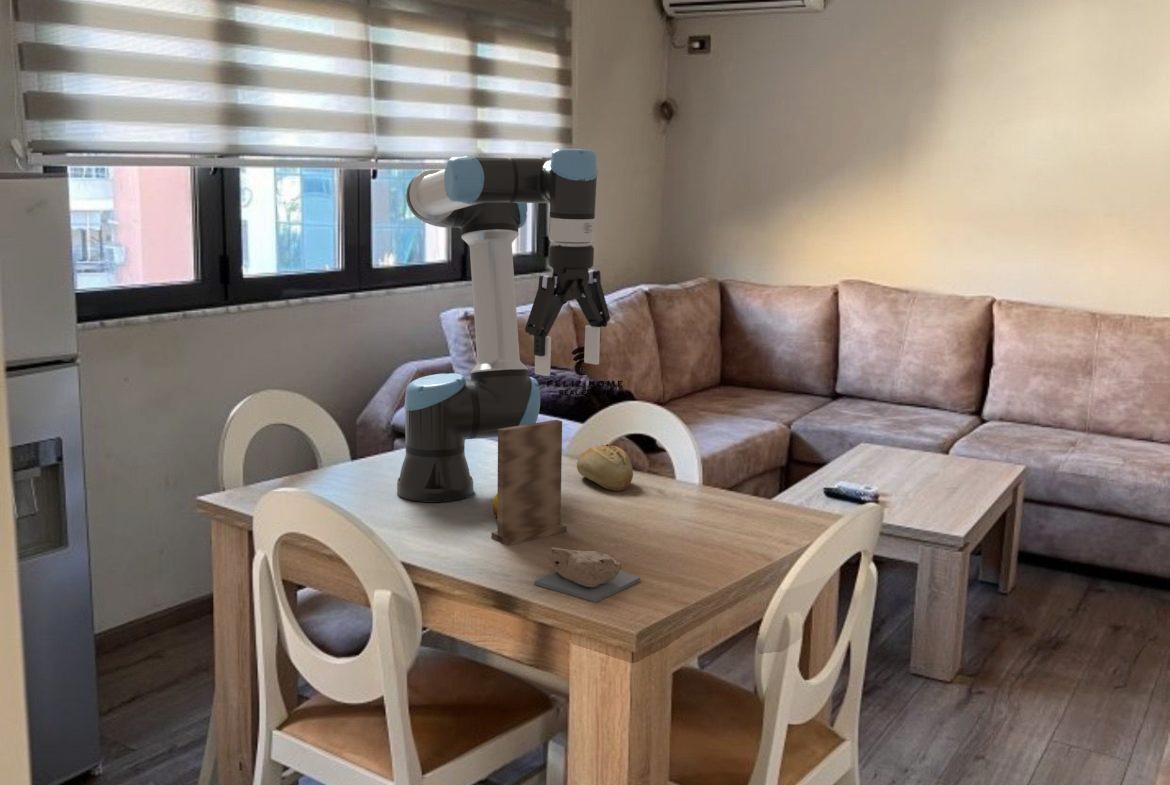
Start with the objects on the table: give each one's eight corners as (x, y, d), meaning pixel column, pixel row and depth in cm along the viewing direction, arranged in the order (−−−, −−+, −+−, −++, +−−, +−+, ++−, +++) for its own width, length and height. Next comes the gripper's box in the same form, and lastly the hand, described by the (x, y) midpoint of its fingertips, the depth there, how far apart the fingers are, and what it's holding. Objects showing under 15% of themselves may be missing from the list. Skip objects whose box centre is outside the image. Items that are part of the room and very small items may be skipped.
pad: (534, 584, 185) (534, 580, 185) (580, 564, 194) (580, 561, 194) (596, 602, 178) (596, 598, 178) (640, 580, 187) (640, 577, 187)
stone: (580, 593, 180) (581, 562, 179) (542, 570, 189) (543, 541, 188) (628, 583, 184) (629, 553, 183) (589, 562, 194) (590, 533, 193)
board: (508, 545, 203) (509, 432, 199) (491, 537, 207) (492, 427, 203) (566, 531, 212) (568, 422, 208) (548, 524, 215) (550, 417, 212)
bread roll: (603, 472, 253) (603, 436, 251) (644, 489, 241) (646, 451, 239) (565, 478, 247) (566, 441, 246) (606, 495, 235) (607, 457, 234)
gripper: (541, 250, 183) (538, 383, 188) (633, 241, 202) (627, 361, 207) (505, 246, 187) (502, 376, 192) (597, 237, 207) (593, 355, 212)
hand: (567, 369), depth 200 cm, fingers open, 13 cm apart
